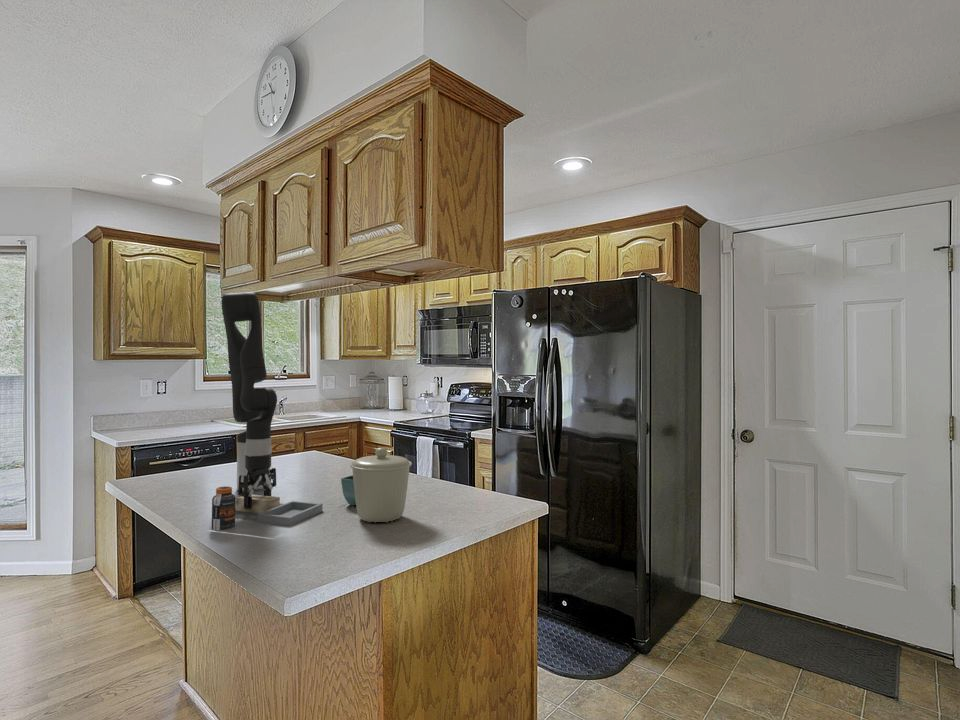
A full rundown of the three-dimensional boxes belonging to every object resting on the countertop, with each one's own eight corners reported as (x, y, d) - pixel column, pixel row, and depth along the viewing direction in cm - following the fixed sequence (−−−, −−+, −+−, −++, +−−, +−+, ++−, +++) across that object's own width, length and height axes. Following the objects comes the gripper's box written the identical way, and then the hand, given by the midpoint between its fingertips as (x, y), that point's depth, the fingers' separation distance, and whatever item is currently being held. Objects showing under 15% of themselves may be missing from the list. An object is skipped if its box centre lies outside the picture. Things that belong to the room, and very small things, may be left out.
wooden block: (236, 510, 169) (236, 497, 169) (247, 506, 174) (247, 493, 174) (268, 514, 165) (268, 500, 165) (279, 510, 170) (279, 496, 170)
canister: (355, 530, 152) (356, 454, 152) (344, 513, 168) (345, 444, 168) (418, 523, 159) (419, 450, 159) (402, 508, 176) (402, 442, 176)
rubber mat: (259, 502, 180) (259, 501, 180) (295, 506, 176) (295, 505, 176) (217, 517, 163) (217, 515, 163) (256, 521, 159) (256, 520, 159)
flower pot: (339, 505, 177) (340, 478, 177) (357, 499, 185) (358, 473, 185) (361, 509, 173) (361, 481, 173) (378, 503, 181) (379, 476, 181)
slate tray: (292, 509, 173) (292, 500, 173) (322, 512, 170) (322, 503, 170) (257, 523, 158) (257, 514, 158) (289, 527, 154) (289, 517, 154)
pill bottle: (219, 532, 149) (220, 491, 149) (207, 529, 152) (207, 488, 152) (239, 527, 154) (240, 486, 154) (226, 523, 157) (227, 484, 157)
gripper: (263, 448, 178) (263, 498, 178) (231, 455, 164) (230, 510, 164) (283, 450, 175) (282, 500, 175) (252, 457, 162) (251, 512, 162)
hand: (257, 505), depth 170 cm, fingers open, 8 cm apart
